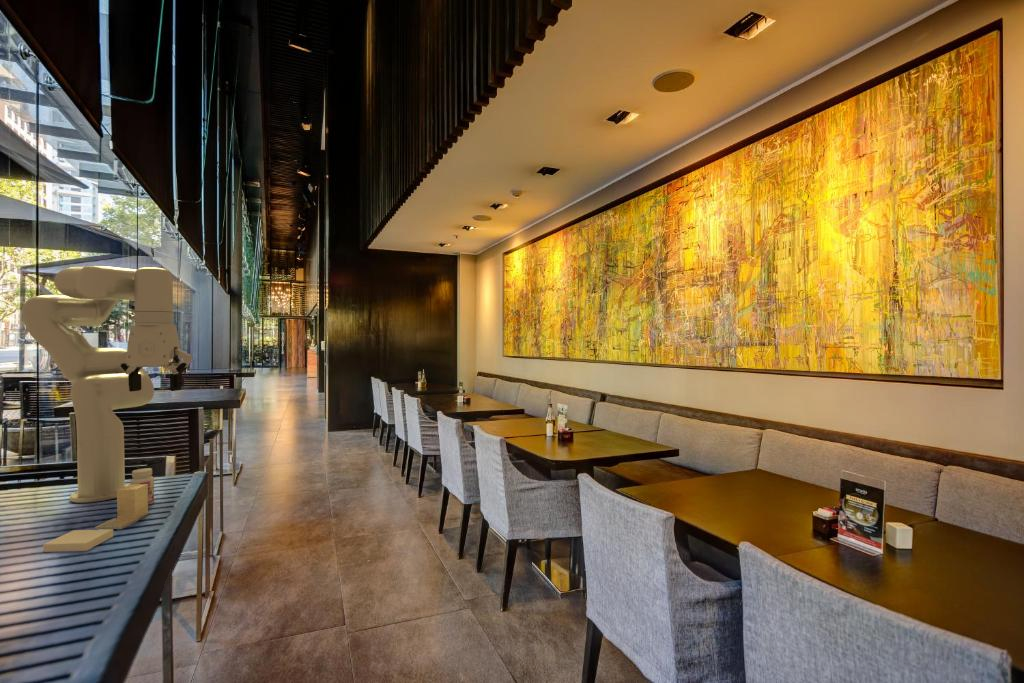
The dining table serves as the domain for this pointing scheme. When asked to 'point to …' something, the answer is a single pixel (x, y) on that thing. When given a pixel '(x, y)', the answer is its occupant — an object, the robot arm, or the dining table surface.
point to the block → (78, 540)
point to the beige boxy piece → (128, 506)
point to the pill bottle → (144, 481)
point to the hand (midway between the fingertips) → (155, 390)
